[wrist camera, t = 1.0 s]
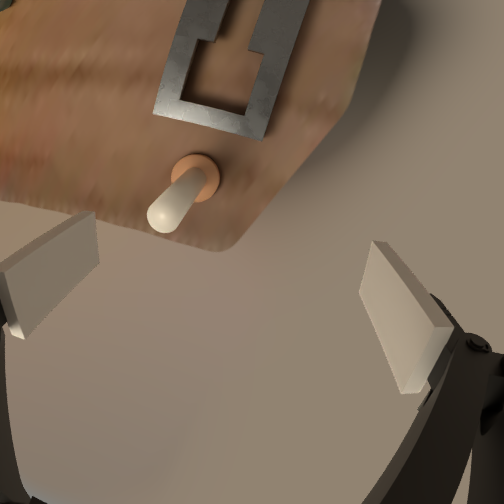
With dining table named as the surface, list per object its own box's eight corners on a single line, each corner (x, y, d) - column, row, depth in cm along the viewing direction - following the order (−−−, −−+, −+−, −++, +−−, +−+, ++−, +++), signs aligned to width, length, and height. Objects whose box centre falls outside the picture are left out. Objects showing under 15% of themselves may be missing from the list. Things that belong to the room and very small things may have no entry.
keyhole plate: (216, -52, 24) (213, -61, 21) (319, -29, 25) (323, -38, 22) (160, 112, 35) (152, 113, 32) (262, 138, 36) (262, 141, 33)
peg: (179, 148, 37) (136, 175, 24) (225, 160, 37) (204, 193, 25) (169, 192, 40) (128, 237, 27) (213, 204, 40) (189, 256, 28)
